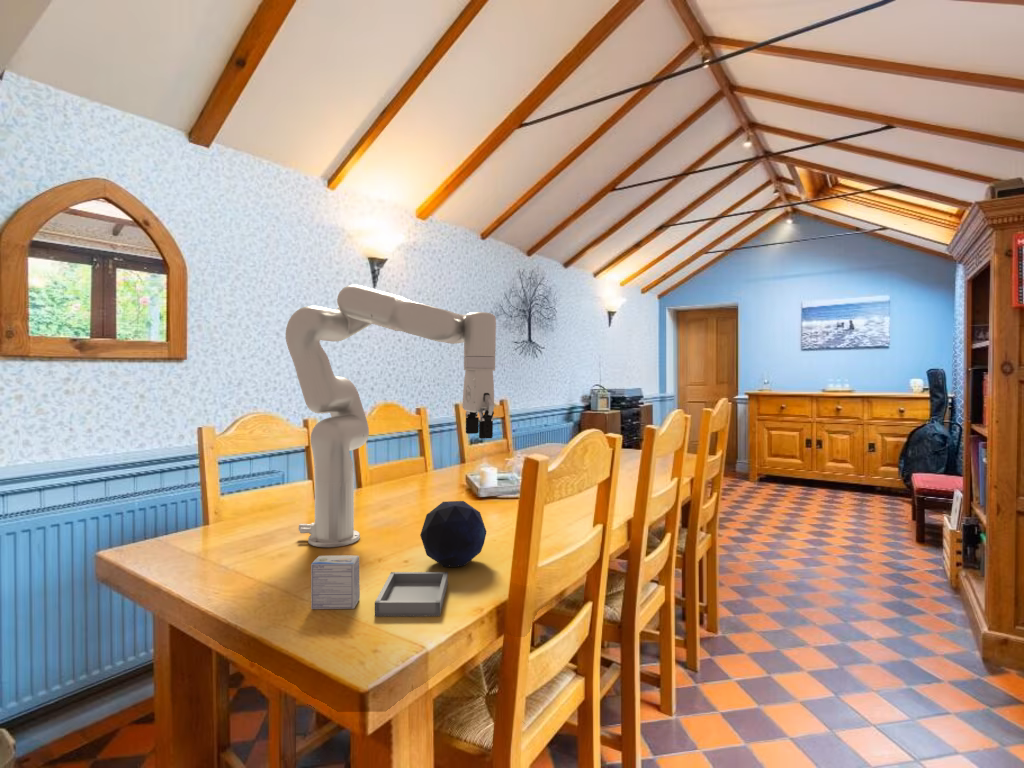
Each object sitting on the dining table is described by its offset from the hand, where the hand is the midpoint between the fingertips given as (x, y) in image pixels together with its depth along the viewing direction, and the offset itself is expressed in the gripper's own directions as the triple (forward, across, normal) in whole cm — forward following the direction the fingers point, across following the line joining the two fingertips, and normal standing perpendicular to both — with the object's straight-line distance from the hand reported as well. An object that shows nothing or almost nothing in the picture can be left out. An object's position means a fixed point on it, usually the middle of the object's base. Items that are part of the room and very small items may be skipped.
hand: (478, 435), depth 131 cm
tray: (+28, +21, -20) cm, 41 cm away
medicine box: (+29, +18, -34) cm, 48 cm away
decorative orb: (+28, +6, -8) cm, 30 cm away
